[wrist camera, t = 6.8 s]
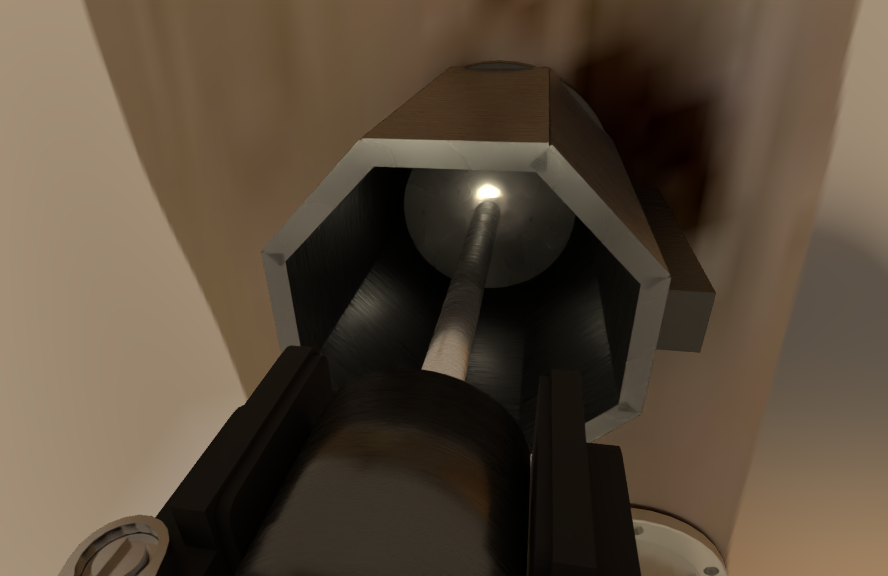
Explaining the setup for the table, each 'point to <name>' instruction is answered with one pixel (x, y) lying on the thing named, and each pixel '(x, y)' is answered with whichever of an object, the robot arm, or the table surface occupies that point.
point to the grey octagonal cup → (505, 308)
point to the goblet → (425, 413)
